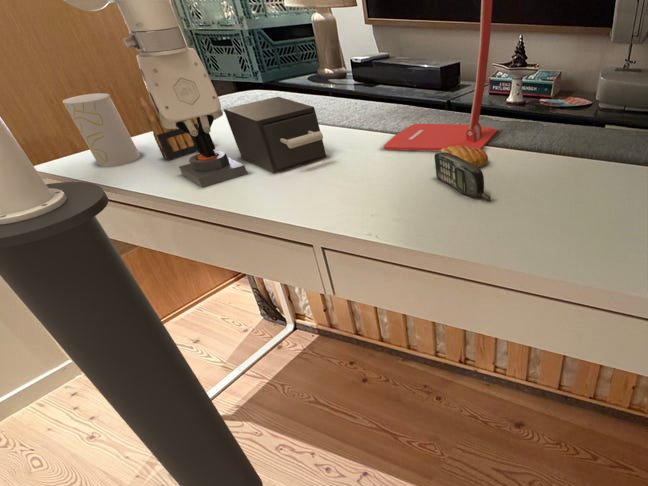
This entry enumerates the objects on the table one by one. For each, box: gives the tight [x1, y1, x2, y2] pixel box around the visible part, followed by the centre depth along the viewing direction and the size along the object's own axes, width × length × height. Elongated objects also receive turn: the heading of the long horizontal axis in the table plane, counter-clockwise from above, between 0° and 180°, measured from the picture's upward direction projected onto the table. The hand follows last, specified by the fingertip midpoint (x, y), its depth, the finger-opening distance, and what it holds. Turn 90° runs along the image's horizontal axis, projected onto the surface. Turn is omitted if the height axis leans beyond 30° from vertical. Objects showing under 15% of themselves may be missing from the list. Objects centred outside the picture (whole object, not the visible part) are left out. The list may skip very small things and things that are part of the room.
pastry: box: [440, 145, 489, 169], centre depth 89 cm, size 9×7×4 cm
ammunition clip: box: [140, 95, 198, 161], centre depth 99 cm, size 11×2×12 cm, turn 146°
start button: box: [197, 153, 218, 160], centre depth 90 cm, size 4×4×2 cm
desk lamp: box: [383, 0, 498, 152], centre depth 91 cm, size 18×38×40 cm, turn 73°
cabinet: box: [223, 96, 327, 174], centre depth 95 cm, size 15×12×10 cm
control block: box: [178, 150, 248, 188], centre depth 91 cm, size 9×10×4 cm
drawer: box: [262, 112, 327, 169], centre depth 93 cm, size 18×11×8 cm, turn 46°
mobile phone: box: [434, 151, 492, 200], centre depth 80 cm, size 5×3×15 cm
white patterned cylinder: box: [61, 92, 141, 167], centre depth 97 cm, size 8×8×12 cm
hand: (208, 155), depth 89 cm, fingers closed
